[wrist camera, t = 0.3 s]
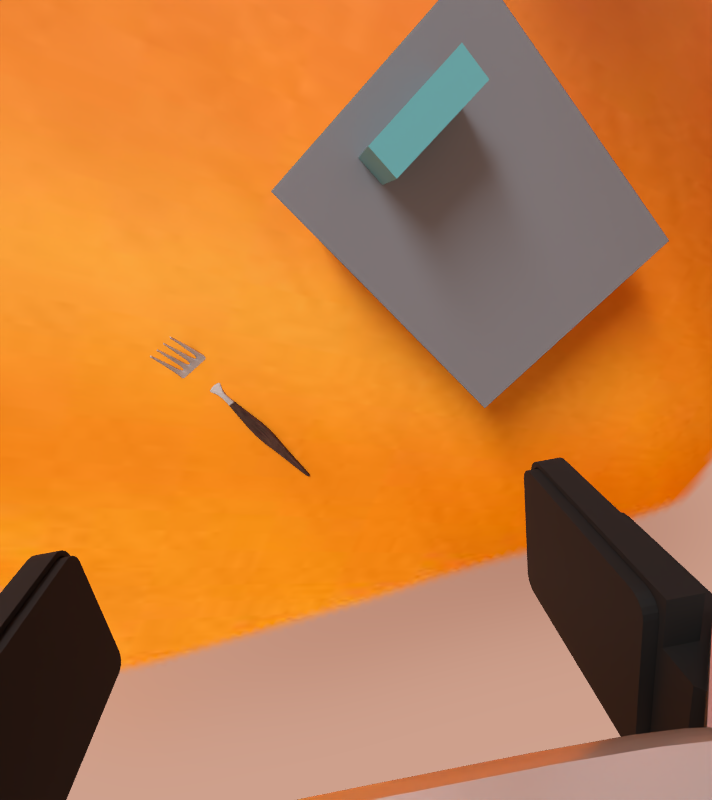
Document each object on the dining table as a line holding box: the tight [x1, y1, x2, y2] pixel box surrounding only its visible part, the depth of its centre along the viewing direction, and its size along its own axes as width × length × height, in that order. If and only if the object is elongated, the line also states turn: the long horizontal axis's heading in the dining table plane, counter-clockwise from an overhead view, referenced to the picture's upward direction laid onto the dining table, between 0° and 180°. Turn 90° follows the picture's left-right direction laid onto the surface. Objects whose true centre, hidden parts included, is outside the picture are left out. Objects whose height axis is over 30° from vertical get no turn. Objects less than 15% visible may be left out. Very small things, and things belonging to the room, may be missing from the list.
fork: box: [150, 337, 310, 476], centre depth 39 cm, size 3×16×2 cm, turn 41°
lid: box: [271, 0, 669, 408], centre depth 28 cm, size 16×20×7 cm
